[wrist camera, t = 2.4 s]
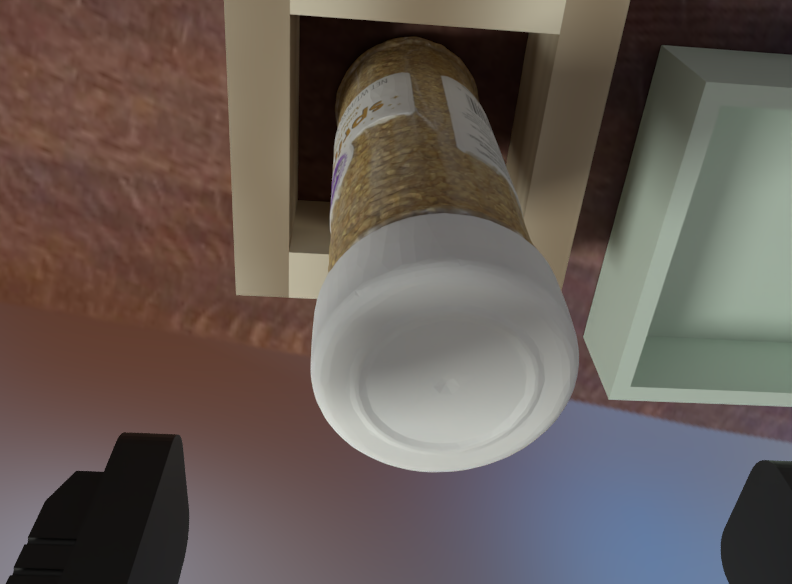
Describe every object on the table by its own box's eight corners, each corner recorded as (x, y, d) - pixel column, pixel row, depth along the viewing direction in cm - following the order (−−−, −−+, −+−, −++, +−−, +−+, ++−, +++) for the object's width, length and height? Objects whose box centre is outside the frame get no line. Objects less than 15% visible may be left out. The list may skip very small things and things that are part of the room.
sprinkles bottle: (327, 39, 22) (289, 280, 11) (480, 27, 22) (597, 257, 11) (343, 180, 25) (325, 492, 14) (480, 170, 25) (576, 474, 14)
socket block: (250, 239, 26) (236, 294, 23) (242, -82, 21) (221, -63, 18) (535, 254, 27) (556, 310, 24) (599, -52, 21) (636, -28, 18)
